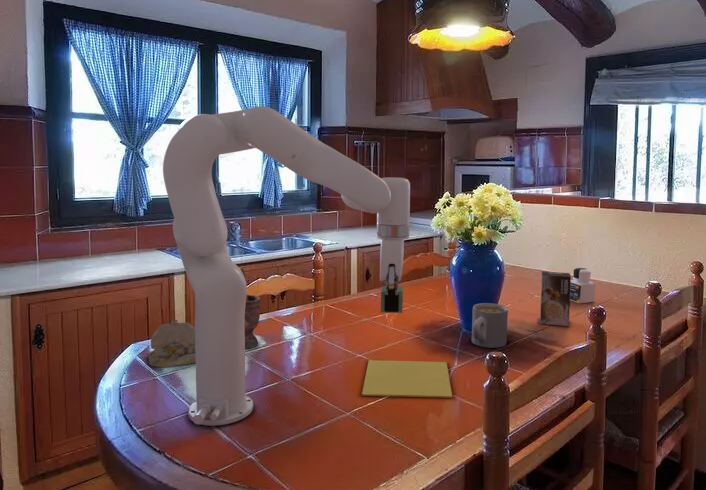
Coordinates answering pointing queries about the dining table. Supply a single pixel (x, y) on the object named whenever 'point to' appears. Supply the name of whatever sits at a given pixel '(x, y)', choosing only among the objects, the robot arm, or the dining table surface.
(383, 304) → the toy block
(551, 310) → the coffee box
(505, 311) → the coffee mug
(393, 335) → the dining table surface
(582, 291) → the medicine bottle
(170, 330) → the ceramic model
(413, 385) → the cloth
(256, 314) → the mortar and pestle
